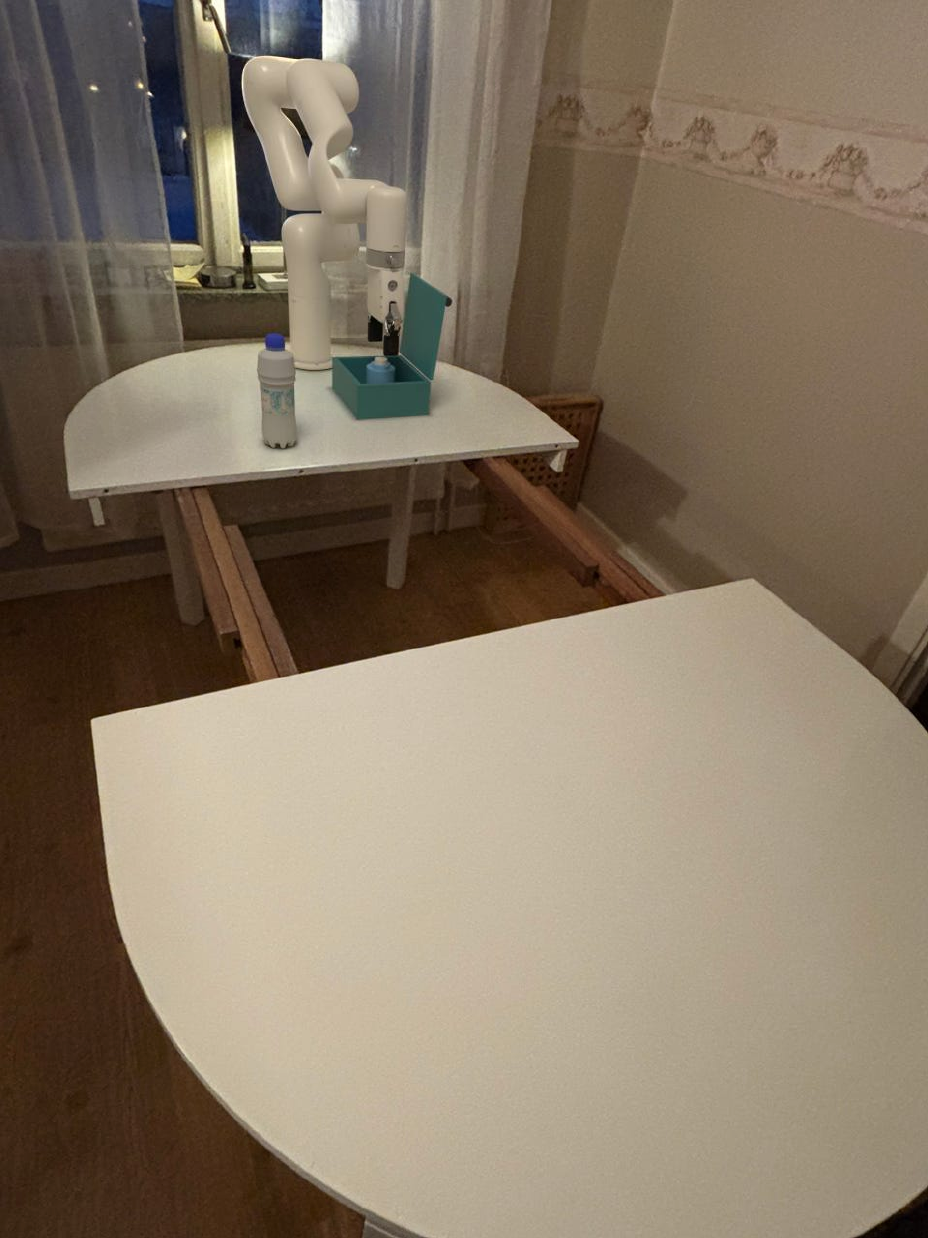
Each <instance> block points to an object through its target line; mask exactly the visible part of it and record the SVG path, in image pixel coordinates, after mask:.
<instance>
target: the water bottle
mask: <svg viewBox="0 0 928 1238" xmlns="http://www.w3.org/2000/svg"><path fill="white" fill-rule="evenodd" d="M394 377H395V367H394V366H392V365H390V363H389V362H387V358H385V357H375V361H372V363H370V364H368V365H367V372H366V384H374V383H394Z"/></svg>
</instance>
